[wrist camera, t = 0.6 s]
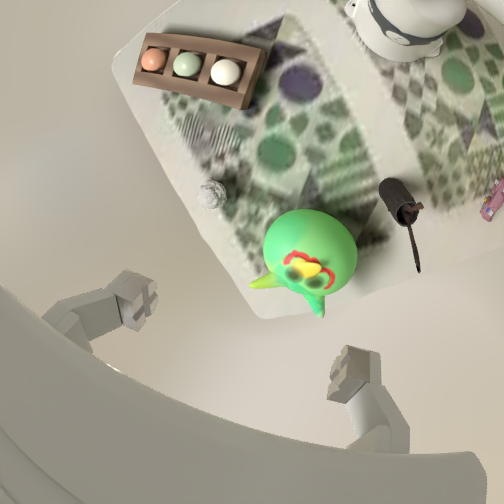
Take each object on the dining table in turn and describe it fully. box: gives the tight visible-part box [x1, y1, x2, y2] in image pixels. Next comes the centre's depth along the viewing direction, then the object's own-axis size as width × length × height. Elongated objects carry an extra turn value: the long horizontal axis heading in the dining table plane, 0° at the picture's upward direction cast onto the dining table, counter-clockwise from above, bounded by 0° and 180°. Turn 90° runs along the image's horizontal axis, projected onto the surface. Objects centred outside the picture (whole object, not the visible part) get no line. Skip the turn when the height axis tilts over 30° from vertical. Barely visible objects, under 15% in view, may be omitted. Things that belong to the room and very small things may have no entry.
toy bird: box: [249, 209, 358, 318], centre depth 50 cm, size 18×17×15 cm
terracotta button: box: [141, 48, 168, 71], centre depth 41 cm, size 5×5×2 cm
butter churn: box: [379, 178, 424, 273], centre depth 34 cm, size 9×10×28 cm
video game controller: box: [480, 177, 504, 222], centre depth 37 cm, size 10×5×7 cm, turn 157°
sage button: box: [173, 52, 202, 77], centre depth 40 cm, size 5×5×2 cm
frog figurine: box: [197, 180, 227, 209], centre depth 54 cm, size 6×7×7 cm
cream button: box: [211, 59, 242, 86], centre depth 40 cm, size 5×5×2 cm
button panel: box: [132, 33, 267, 110], centre depth 42 cm, size 12×25×4 cm, turn 72°
